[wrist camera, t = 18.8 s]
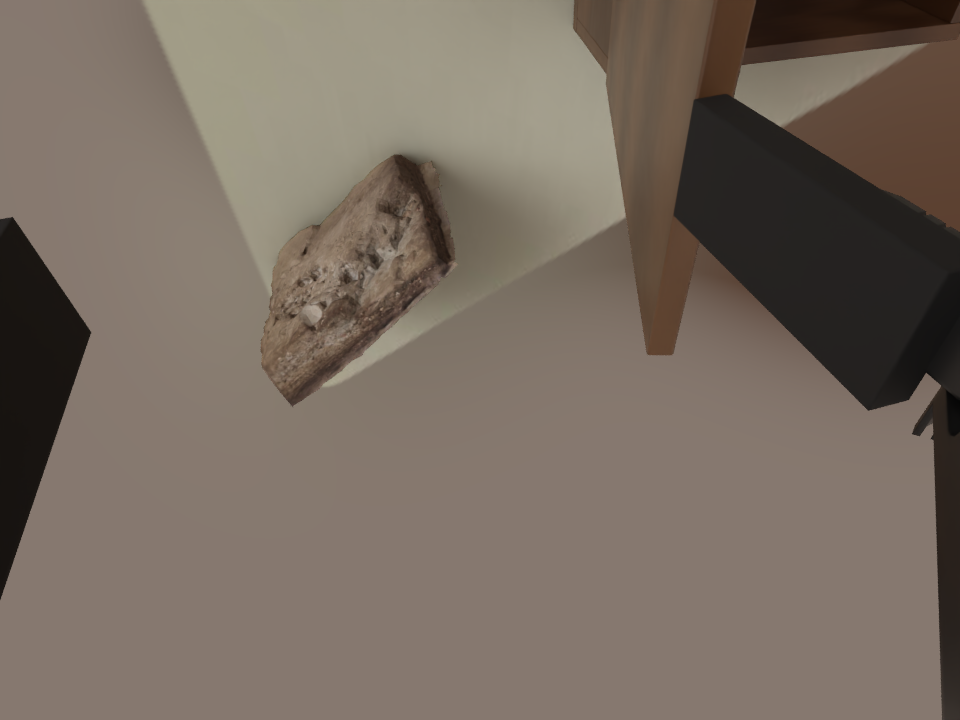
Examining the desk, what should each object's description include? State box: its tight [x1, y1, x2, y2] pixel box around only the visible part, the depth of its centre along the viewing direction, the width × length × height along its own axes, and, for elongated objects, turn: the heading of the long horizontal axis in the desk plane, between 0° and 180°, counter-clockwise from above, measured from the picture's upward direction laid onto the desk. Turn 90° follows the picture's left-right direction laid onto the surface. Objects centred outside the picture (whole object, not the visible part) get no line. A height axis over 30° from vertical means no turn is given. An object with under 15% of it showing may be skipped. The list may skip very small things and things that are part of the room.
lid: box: [606, 0, 756, 355], centre depth 21 cm, size 21×13×1 cm
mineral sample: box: [261, 155, 457, 406], centre depth 41 cm, size 17×4×15 cm, turn 130°
